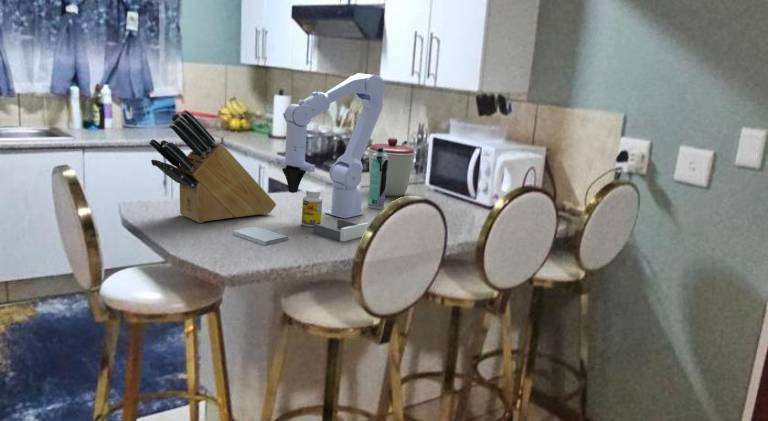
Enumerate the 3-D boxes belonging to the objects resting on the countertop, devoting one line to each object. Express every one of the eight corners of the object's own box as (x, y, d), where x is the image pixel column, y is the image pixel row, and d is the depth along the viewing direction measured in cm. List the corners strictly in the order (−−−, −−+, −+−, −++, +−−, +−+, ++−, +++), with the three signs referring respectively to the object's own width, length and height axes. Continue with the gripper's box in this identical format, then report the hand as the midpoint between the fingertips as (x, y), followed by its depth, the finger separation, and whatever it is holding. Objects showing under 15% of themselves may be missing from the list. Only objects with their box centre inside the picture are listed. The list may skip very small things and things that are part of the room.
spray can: (386, 208, 210) (391, 149, 205) (371, 208, 207) (375, 148, 203) (380, 204, 214) (385, 146, 210) (365, 204, 212) (370, 146, 208)
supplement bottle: (297, 224, 180) (299, 189, 178) (309, 221, 185) (311, 187, 183) (313, 228, 178) (315, 193, 175) (324, 225, 182) (326, 190, 180)
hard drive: (288, 236, 165) (256, 225, 172) (265, 241, 158) (232, 230, 165) (288, 242, 165) (256, 231, 172) (265, 247, 159) (232, 236, 166)
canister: (386, 201, 221) (391, 141, 216) (353, 190, 234) (358, 134, 229) (422, 196, 233) (427, 140, 229) (389, 187, 246) (394, 133, 241)
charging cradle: (338, 226, 182) (339, 214, 181) (367, 235, 176) (368, 222, 175) (313, 232, 174) (313, 219, 173) (342, 241, 167) (343, 228, 166)
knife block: (146, 218, 173) (146, 105, 166) (256, 206, 197) (259, 107, 190) (164, 228, 165) (165, 110, 158) (276, 214, 190) (281, 111, 182)
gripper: (268, 143, 182) (266, 188, 185) (303, 150, 174) (300, 198, 177) (286, 142, 188) (283, 186, 191) (321, 149, 179) (318, 195, 182)
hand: (293, 192), depth 184 cm, fingers closed
